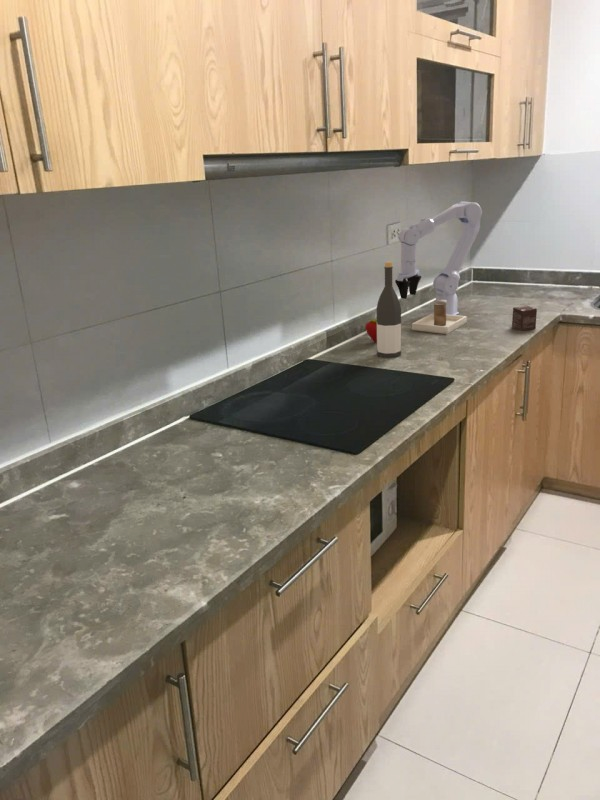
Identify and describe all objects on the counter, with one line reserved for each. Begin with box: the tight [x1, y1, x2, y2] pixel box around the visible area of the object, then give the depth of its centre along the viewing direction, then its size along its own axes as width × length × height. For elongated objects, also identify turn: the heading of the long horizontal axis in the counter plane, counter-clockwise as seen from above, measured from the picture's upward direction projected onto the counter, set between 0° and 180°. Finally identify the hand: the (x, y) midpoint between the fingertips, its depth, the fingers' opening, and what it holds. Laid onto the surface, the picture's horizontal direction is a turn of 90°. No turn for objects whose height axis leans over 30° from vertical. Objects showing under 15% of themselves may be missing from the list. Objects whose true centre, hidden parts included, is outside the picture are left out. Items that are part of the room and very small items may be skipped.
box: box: [511, 305, 538, 331], centre depth 231 cm, size 6×6×7 cm
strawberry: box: [364, 318, 377, 344], centre depth 223 cm, size 6×8×10 cm
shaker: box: [433, 299, 447, 326], centre depth 239 cm, size 5×5×9 cm
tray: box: [411, 312, 468, 335], centre depth 240 cm, size 18×14×2 cm
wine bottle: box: [376, 261, 402, 359], centre depth 205 cm, size 8×8×30 cm
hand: (408, 296), depth 249 cm, fingers open, 7 cm apart
